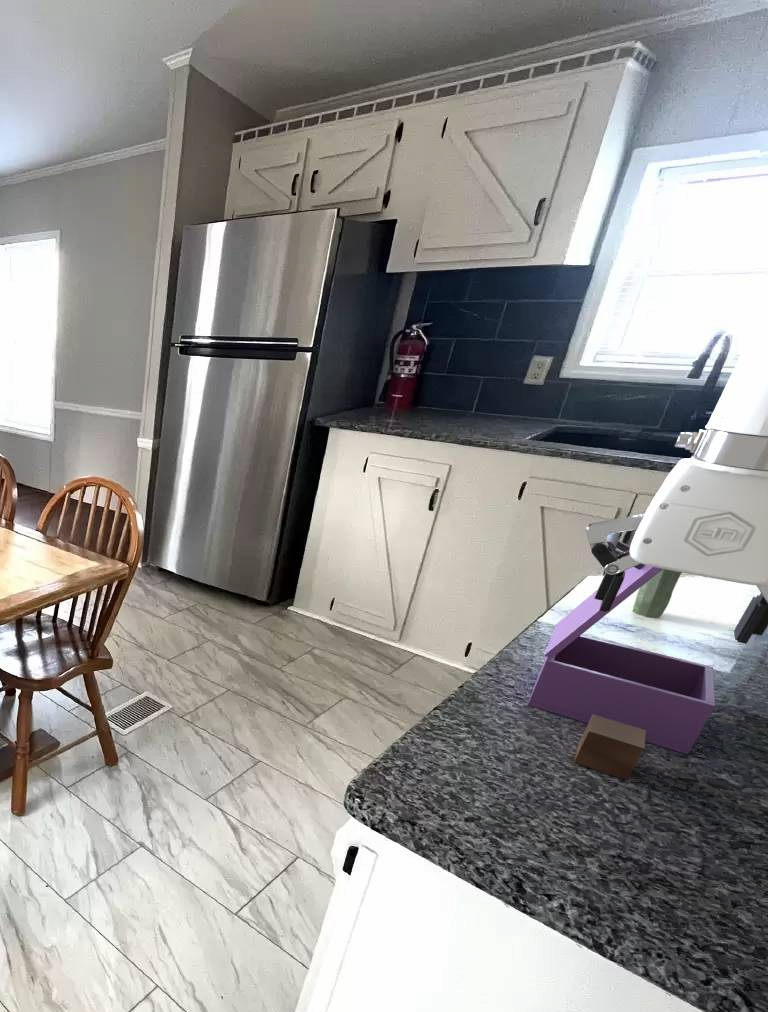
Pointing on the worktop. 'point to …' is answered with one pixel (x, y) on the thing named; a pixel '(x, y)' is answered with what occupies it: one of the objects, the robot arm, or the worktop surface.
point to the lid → (597, 603)
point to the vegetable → (656, 594)
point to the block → (610, 747)
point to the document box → (628, 690)
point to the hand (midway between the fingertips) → (668, 622)
